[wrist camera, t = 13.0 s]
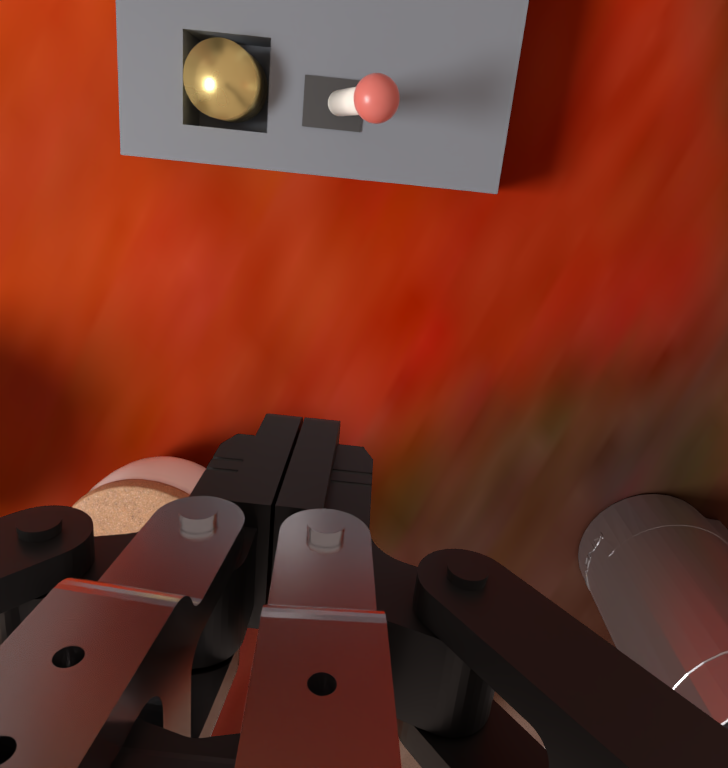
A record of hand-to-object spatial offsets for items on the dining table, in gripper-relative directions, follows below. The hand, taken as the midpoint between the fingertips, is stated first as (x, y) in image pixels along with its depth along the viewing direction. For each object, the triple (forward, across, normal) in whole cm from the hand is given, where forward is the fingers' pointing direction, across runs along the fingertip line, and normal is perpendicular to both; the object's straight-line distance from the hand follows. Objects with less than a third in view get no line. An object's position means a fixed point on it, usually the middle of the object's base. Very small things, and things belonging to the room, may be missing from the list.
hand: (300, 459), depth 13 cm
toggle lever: (+23, +2, -8) cm, 25 cm away
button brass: (+25, +8, -9) cm, 28 cm away
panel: (+27, +3, -13) cm, 30 cm away
